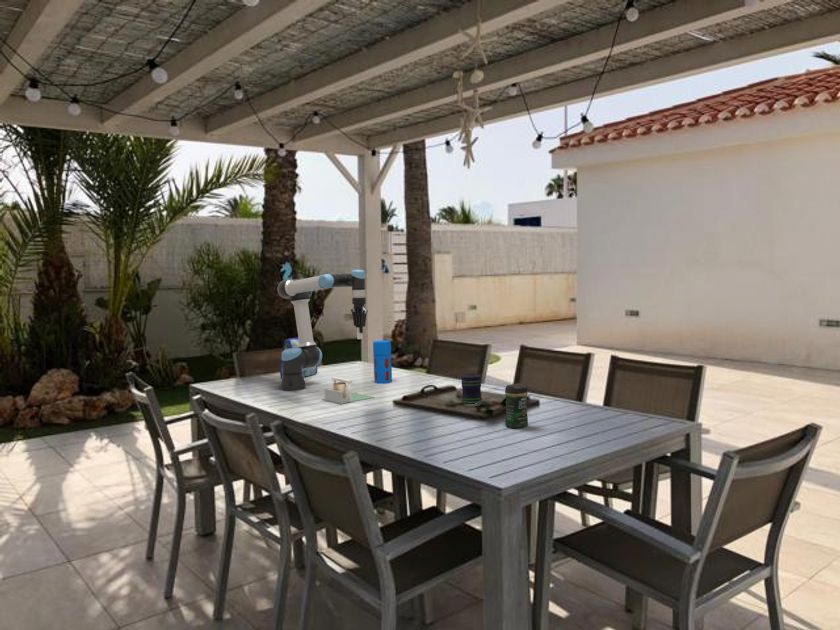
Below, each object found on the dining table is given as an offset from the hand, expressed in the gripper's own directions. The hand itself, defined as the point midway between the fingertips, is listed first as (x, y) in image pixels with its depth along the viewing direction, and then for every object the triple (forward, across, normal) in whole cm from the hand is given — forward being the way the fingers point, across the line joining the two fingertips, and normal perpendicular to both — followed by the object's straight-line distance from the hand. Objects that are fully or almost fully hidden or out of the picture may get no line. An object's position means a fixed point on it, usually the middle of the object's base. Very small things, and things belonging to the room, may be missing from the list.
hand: (359, 338), depth 382 cm
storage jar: (+29, -75, -13) cm, 82 cm away
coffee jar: (+28, -120, +5) cm, 124 cm away
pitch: (+30, -13, +18) cm, 37 cm away
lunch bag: (+31, +72, -3) cm, 78 cm away
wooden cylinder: (+29, -15, +25) cm, 41 cm away
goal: (+29, -15, +26) cm, 42 cm away
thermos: (+30, +12, -26) cm, 42 cm away
